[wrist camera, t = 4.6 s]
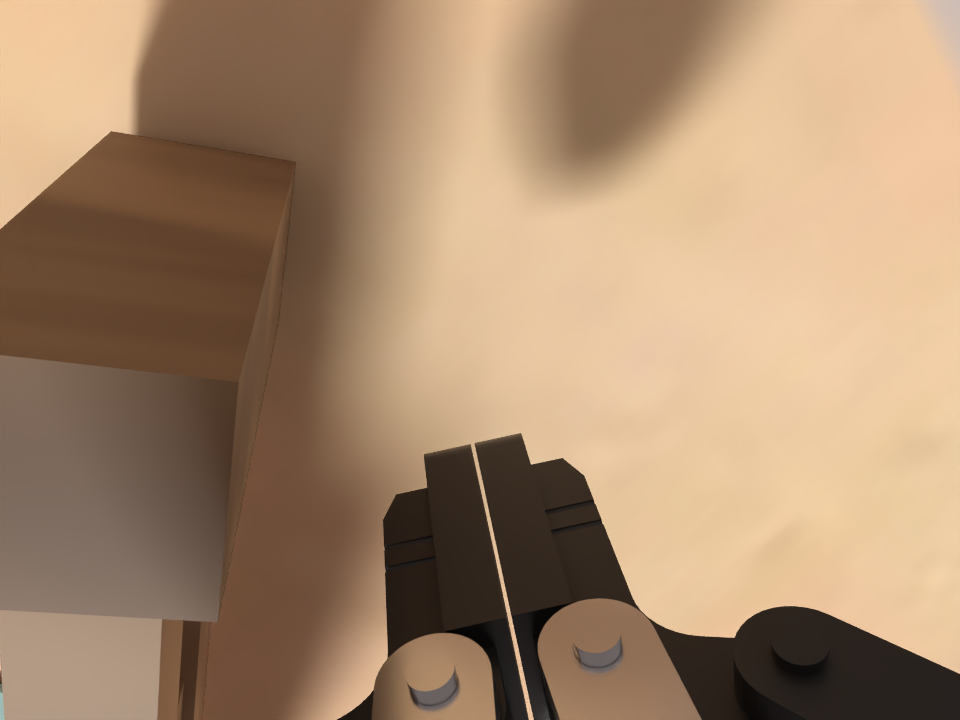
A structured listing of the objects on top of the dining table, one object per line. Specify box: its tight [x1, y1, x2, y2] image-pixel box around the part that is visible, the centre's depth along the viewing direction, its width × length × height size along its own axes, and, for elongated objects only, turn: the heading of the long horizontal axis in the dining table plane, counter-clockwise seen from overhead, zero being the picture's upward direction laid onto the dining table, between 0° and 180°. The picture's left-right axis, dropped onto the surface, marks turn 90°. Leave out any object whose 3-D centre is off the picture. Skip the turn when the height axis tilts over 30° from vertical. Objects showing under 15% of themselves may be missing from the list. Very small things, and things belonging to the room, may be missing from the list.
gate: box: [0, 131, 296, 720], centre depth 14 cm, size 17×3×7 cm, turn 168°
